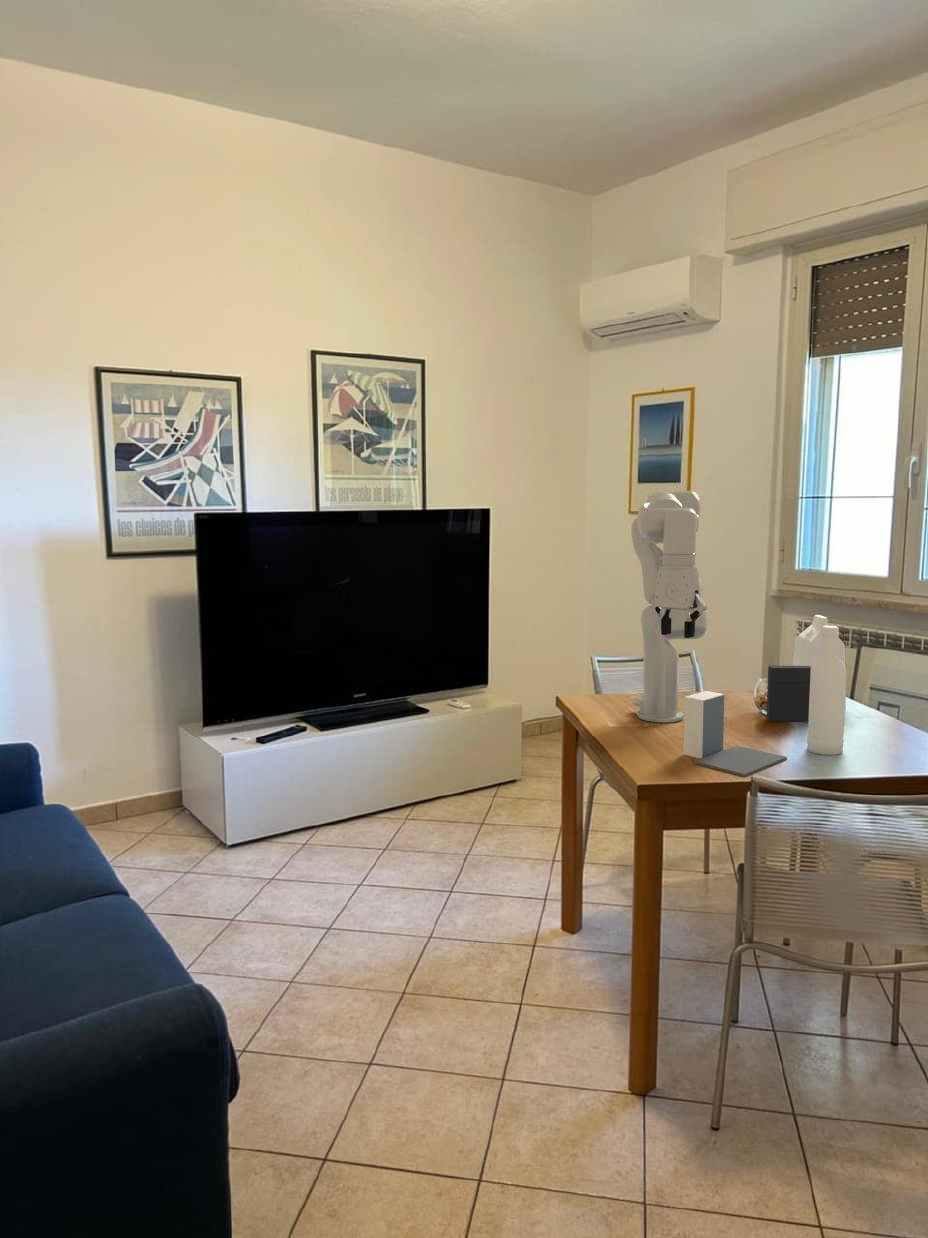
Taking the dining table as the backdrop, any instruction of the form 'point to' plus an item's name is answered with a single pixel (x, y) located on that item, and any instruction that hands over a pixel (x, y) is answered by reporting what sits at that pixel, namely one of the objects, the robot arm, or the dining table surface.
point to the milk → (813, 644)
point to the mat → (740, 760)
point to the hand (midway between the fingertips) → (677, 635)
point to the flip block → (703, 724)
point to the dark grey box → (788, 693)
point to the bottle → (827, 697)
